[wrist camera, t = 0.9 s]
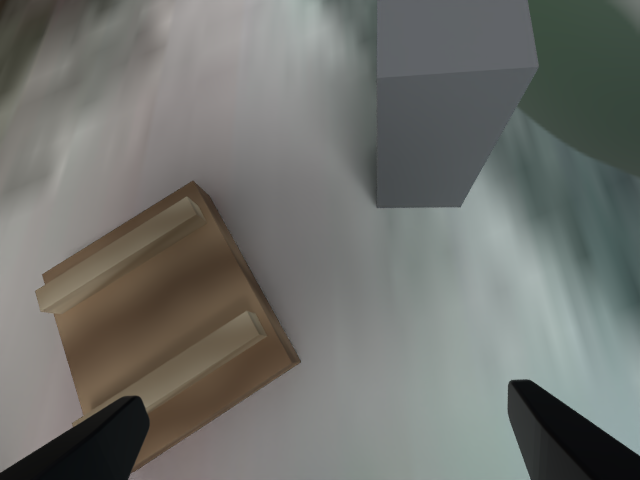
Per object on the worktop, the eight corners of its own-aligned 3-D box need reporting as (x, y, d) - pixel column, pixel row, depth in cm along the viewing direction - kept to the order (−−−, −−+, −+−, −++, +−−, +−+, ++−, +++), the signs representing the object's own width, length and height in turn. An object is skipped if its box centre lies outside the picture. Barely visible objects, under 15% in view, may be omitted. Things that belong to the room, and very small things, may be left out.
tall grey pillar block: (460, 207, 23) (538, 66, 12) (376, 207, 24) (376, 77, 13) (455, 142, 25) (521, -36, 13) (377, 145, 26) (377, -20, 14)
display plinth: (301, 361, 22) (285, 363, 18) (134, 471, 21) (82, 496, 17) (209, 196, 26) (181, 169, 23) (72, 281, 26) (20, 269, 22)
